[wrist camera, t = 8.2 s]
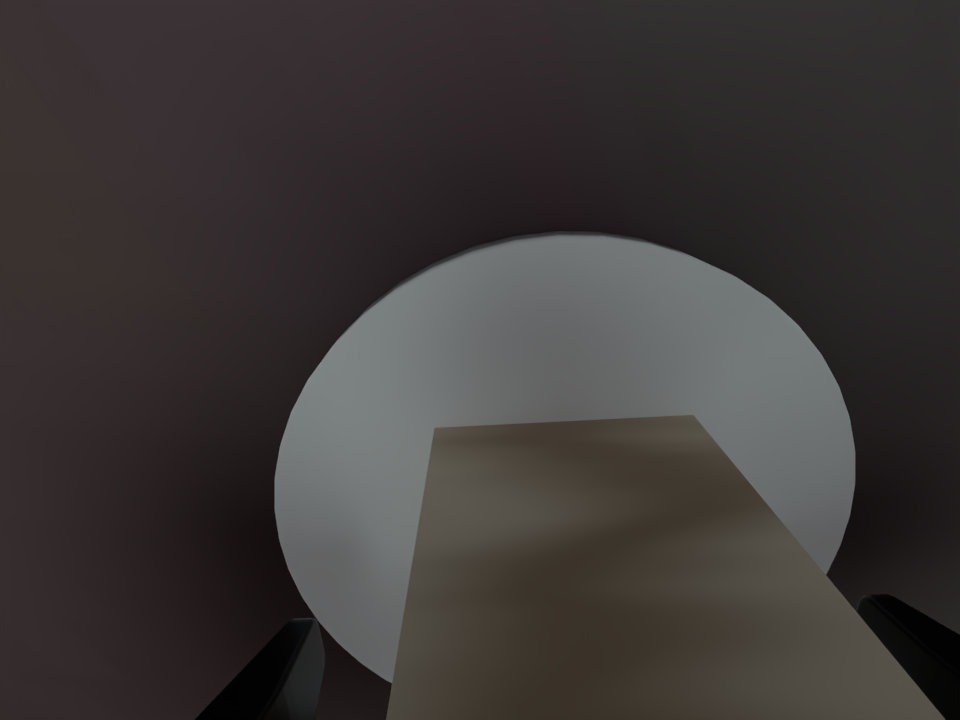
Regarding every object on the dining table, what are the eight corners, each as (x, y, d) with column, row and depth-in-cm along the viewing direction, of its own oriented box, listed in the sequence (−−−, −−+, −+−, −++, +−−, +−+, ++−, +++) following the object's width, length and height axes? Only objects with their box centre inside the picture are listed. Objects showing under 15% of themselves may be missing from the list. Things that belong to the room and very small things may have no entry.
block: (693, 414, 10) (954, 729, 5) (673, 612, 12) (843, 1011, 6) (434, 427, 10) (380, 752, 5) (453, 621, 12) (430, 1024, 6)
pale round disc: (879, 213, 10) (921, 219, 9) (780, 677, 14) (802, 714, 13) (237, 248, 10) (213, 257, 9) (334, 694, 14) (324, 732, 13)
